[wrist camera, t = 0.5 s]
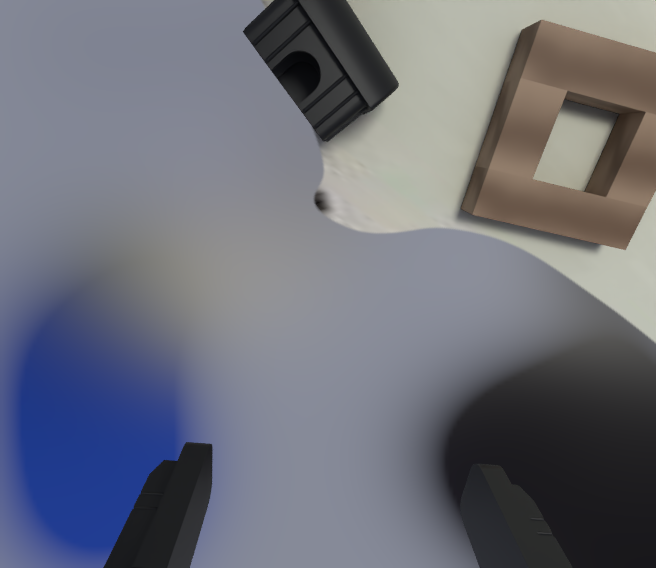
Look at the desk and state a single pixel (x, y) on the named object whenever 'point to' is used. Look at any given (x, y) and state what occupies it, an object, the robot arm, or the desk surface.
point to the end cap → (322, 60)
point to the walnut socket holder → (536, 125)
